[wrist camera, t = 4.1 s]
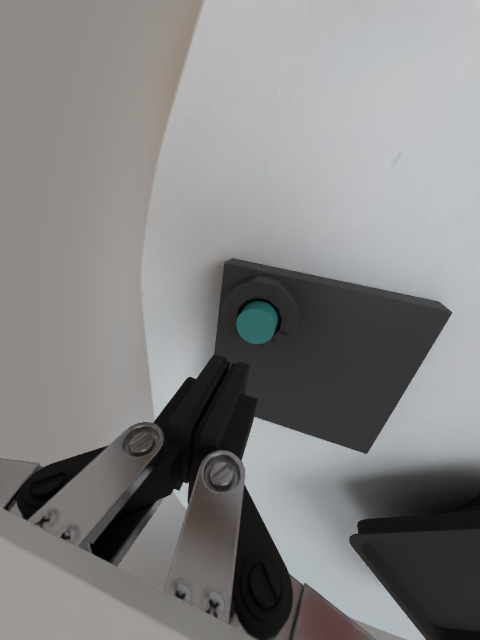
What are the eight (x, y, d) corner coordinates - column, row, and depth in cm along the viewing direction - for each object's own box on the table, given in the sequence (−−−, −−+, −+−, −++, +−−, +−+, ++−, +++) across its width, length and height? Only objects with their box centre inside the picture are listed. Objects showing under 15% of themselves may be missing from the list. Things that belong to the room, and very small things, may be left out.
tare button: (239, 328, 18) (233, 338, 17) (245, 296, 17) (238, 304, 16) (273, 337, 18) (270, 348, 16) (281, 305, 16) (278, 314, 15)
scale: (215, 389, 26) (202, 413, 23) (231, 257, 19) (215, 267, 16) (363, 436, 23) (370, 471, 20) (439, 301, 17) (467, 323, 14)
